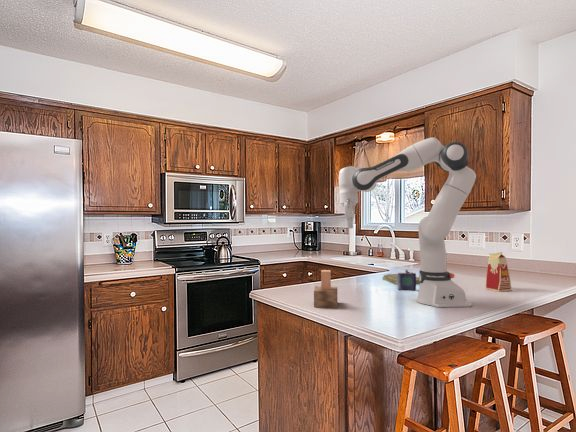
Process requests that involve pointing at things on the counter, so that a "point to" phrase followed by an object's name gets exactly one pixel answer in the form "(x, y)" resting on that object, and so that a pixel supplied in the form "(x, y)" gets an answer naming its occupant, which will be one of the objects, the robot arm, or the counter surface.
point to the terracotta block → (326, 280)
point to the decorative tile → (395, 278)
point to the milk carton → (498, 273)
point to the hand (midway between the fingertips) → (350, 228)
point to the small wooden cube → (325, 297)
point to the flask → (407, 281)
